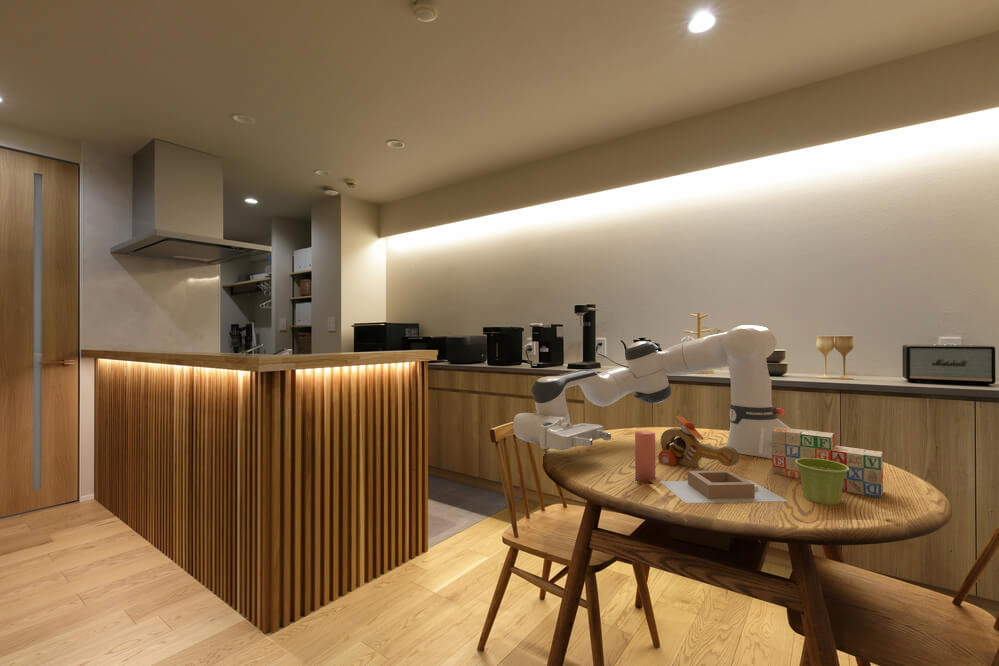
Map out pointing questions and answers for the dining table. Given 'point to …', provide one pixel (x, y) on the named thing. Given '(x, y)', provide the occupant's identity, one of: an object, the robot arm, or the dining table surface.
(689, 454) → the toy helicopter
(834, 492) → the plant pot
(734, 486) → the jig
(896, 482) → the dining table surface
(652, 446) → the pink cylinder peg
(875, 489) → the stack of blocks
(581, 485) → the dining table surface
